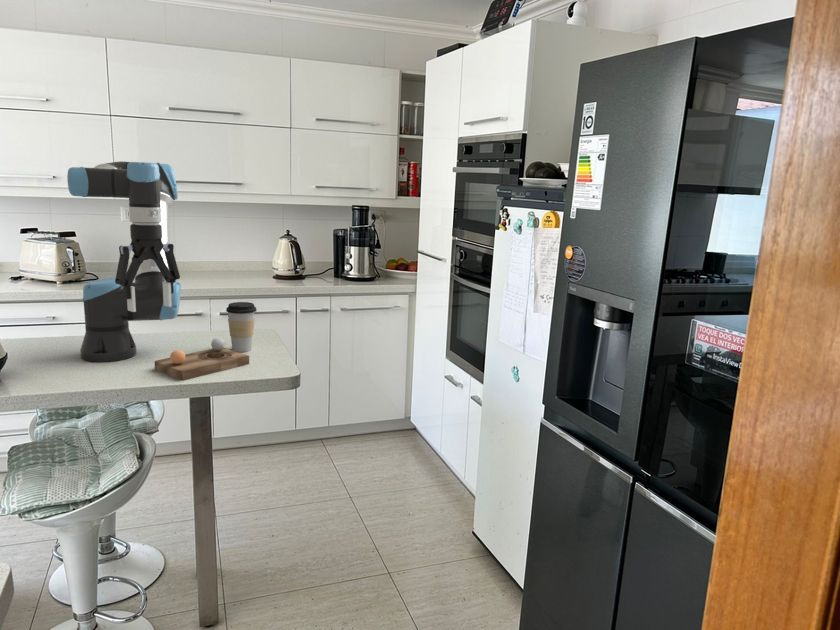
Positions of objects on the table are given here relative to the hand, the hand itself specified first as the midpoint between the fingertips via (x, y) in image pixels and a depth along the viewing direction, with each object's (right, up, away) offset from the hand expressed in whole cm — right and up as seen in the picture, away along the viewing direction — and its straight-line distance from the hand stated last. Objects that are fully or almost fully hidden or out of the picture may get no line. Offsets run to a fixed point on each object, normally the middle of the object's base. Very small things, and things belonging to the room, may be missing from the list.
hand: (150, 308), depth 163 cm
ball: (+4, -14, +9) cm, 17 cm away
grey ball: (+10, -11, +24) cm, 28 cm away
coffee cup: (+14, -13, +35) cm, 40 cm away
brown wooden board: (+8, -17, +16) cm, 25 cm away
